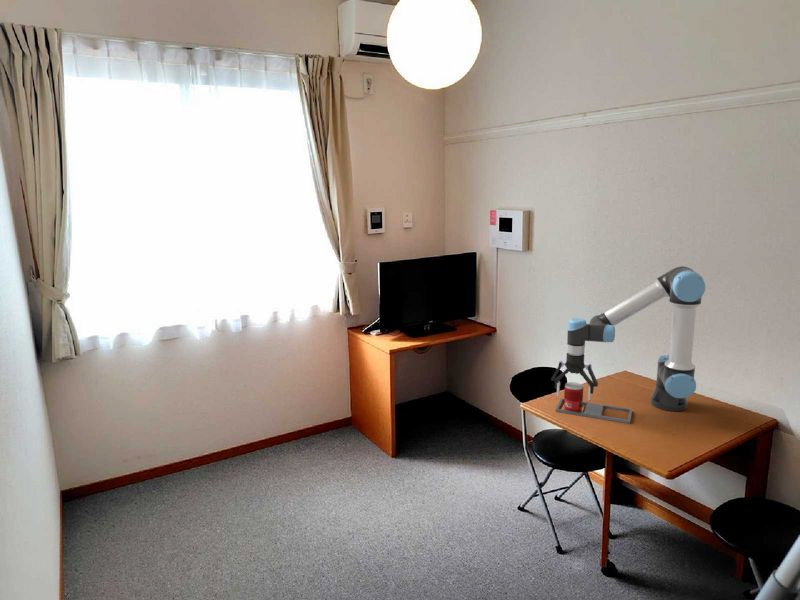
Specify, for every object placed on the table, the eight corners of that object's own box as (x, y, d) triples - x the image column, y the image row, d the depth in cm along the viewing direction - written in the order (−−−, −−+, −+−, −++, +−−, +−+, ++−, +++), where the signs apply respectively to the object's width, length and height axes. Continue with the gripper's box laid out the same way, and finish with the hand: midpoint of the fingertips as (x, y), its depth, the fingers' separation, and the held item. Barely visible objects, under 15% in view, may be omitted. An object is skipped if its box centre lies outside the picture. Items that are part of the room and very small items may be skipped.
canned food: (583, 411, 245) (584, 388, 242) (565, 411, 246) (566, 388, 244) (580, 404, 252) (581, 382, 250) (562, 404, 253) (563, 381, 251)
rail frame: (632, 411, 244) (632, 409, 244) (629, 423, 233) (630, 421, 233) (560, 400, 258) (560, 398, 257) (555, 411, 246) (555, 409, 246)
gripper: (606, 353, 241) (603, 398, 246) (548, 347, 252) (547, 390, 257) (604, 359, 235) (601, 405, 239) (545, 352, 245) (543, 396, 250)
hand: (573, 397), depth 248 cm, fingers open, 13 cm apart
